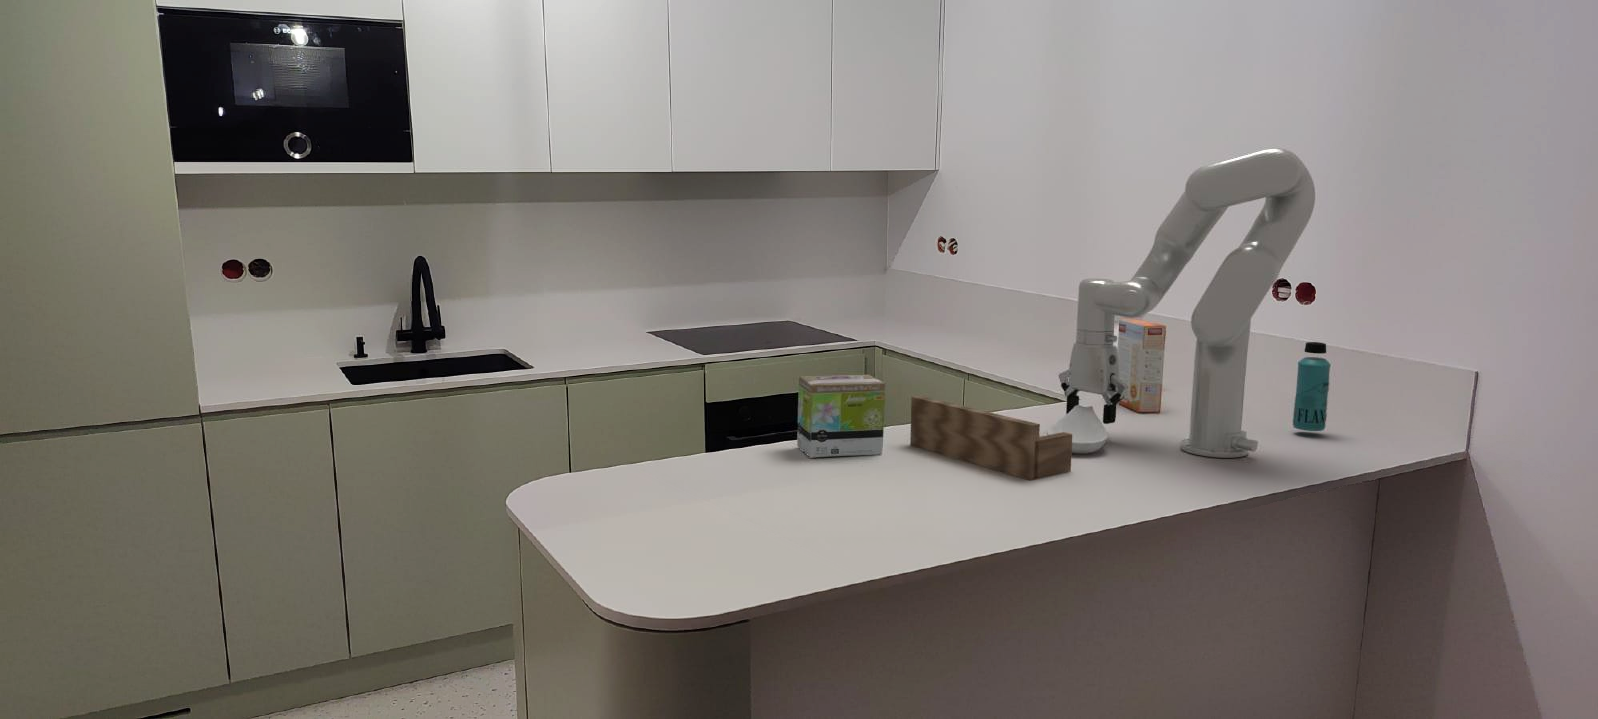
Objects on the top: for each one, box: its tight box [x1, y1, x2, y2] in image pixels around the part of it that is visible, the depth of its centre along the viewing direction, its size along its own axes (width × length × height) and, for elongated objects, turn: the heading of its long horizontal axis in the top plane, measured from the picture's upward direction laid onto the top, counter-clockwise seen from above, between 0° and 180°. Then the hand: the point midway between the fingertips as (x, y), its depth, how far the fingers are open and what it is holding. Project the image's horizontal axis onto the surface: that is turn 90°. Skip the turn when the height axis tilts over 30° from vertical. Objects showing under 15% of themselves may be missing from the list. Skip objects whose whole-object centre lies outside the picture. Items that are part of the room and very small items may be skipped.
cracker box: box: [1115, 319, 1167, 414], centre depth 248 cm, size 14×6×21 cm, turn 6°
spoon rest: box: [1046, 404, 1109, 455], centre depth 212 cm, size 24×12×7 cm, turn 160°
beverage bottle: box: [1292, 341, 1331, 432], centre depth 220 cm, size 6×7×20 cm
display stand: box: [909, 395, 1073, 481], centre depth 200 cm, size 32×11×10 cm, turn 35°
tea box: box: [796, 374, 886, 459], centre depth 204 cm, size 15×10×15 cm, turn 105°
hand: (1090, 418), depth 218 cm, fingers open, 9 cm apart
